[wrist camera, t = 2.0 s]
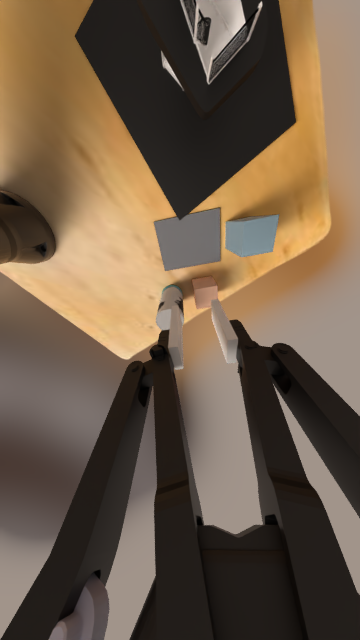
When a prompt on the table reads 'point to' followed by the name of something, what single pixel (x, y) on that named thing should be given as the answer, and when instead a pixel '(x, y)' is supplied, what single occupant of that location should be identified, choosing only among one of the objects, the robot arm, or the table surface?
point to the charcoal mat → (189, 239)
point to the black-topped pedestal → (192, 85)
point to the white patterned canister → (169, 306)
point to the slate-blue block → (251, 235)
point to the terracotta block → (204, 291)
